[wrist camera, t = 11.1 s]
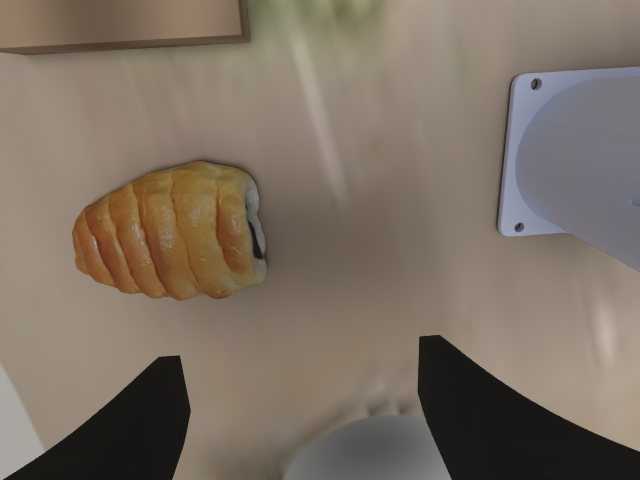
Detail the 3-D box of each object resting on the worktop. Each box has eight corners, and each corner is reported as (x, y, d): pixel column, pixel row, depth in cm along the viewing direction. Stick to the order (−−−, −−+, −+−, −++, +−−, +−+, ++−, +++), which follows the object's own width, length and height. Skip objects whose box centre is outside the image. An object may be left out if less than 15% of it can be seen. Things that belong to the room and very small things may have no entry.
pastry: (109, 297, 23) (73, 335, 20) (66, 178, 21) (17, 196, 17) (276, 272, 23) (272, 306, 19) (252, 149, 21) (241, 161, 17)
